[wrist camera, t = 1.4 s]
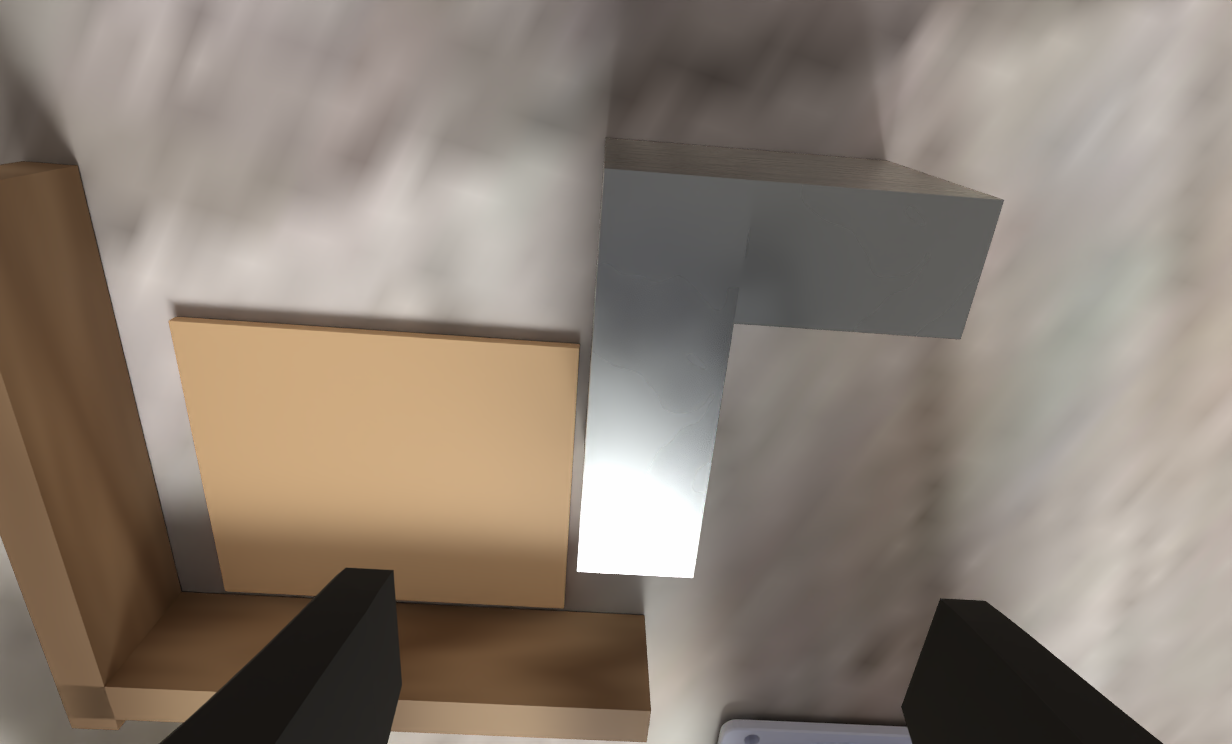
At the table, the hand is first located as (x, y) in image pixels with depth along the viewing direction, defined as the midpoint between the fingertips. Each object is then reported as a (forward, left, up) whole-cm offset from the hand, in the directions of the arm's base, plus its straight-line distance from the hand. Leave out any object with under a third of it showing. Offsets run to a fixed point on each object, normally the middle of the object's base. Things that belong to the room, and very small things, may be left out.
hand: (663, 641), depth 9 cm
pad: (+6, +4, -9) cm, 12 cm away
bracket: (-2, -1, -9) cm, 10 cm away
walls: (+6, +3, -9) cm, 11 cm away
